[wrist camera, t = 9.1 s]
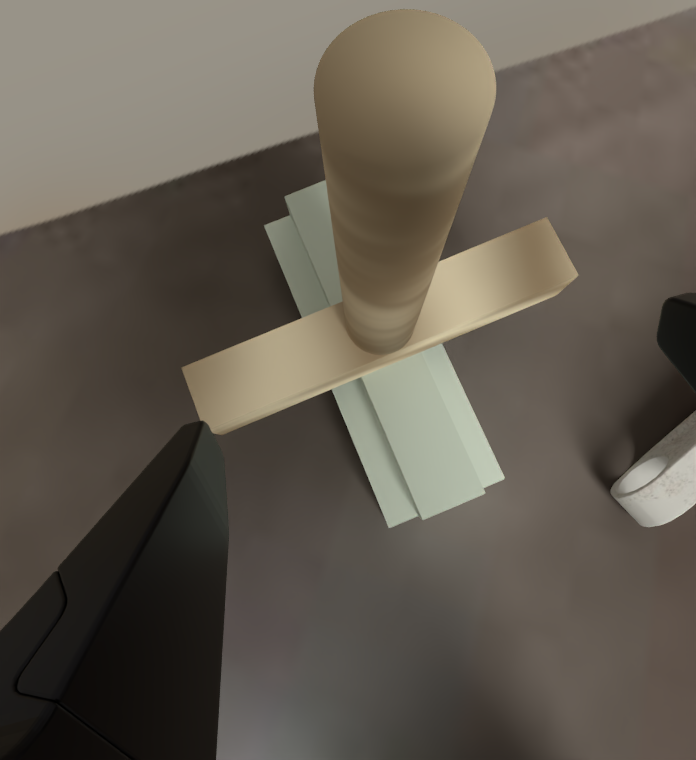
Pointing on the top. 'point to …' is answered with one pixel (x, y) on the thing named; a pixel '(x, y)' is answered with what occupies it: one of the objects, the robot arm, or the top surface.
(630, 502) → the wrench
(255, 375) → the rubber stamp
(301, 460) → the top surface
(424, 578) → the top surface
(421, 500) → the ridge
